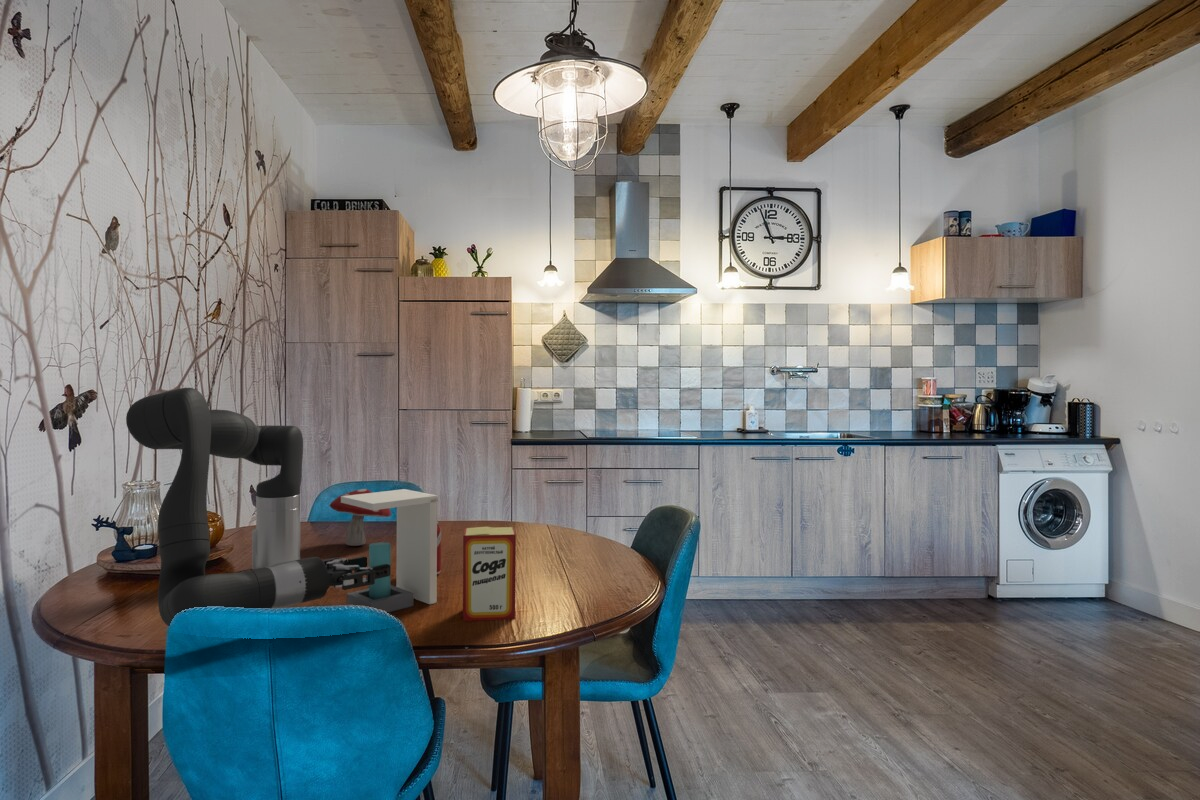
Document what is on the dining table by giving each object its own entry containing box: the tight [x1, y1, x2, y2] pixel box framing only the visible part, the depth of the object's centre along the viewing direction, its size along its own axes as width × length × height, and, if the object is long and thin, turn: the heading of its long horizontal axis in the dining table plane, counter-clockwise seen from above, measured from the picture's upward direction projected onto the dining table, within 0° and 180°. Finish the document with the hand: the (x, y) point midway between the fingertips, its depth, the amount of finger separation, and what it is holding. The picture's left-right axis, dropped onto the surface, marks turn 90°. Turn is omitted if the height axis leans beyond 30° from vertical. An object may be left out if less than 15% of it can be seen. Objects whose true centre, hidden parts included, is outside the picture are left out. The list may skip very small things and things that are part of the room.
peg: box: [368, 541, 392, 600], centre depth 134 cm, size 4×4×12 cm
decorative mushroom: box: [329, 488, 392, 547], centre depth 185 cm, size 16×16×15 cm
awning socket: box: [340, 488, 439, 613], centre depth 136 cm, size 14×12×21 cm
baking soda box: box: [462, 526, 517, 622], centre depth 130 cm, size 10×6×16 cm
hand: (377, 565), depth 134 cm, fingers open, 8 cm apart
